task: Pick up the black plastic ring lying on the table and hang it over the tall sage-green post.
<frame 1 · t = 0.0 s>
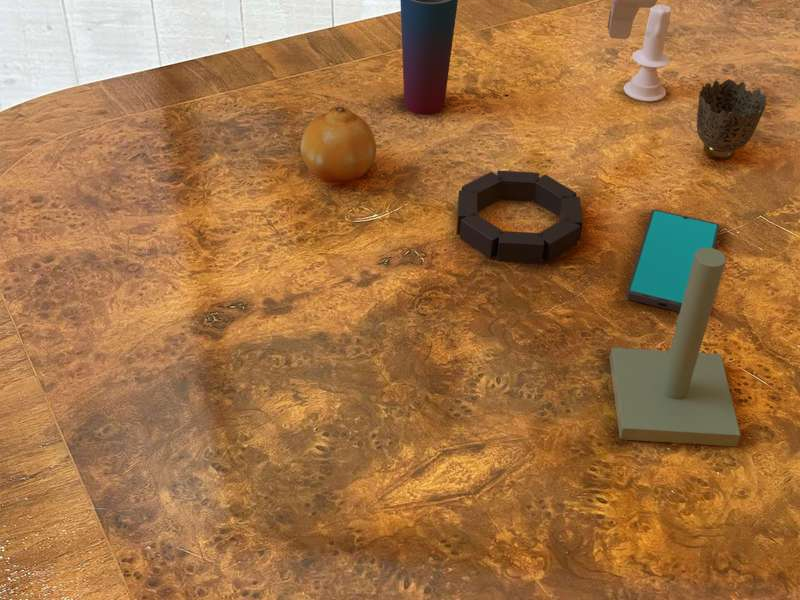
hand: (612, 9, 93), 27 cm above the table, tool pointing down, fingers open, 8 cm apart
ring: (517, 224, 114), on the table
smartphone: (673, 264, 110), on the table
cup 2: (717, 156, 126), on the table
cup: (424, 105, 133), on the table
fruit: (339, 173, 121), on the table
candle: (644, 92, 137), on the table
post: (670, 401, 95), on the table
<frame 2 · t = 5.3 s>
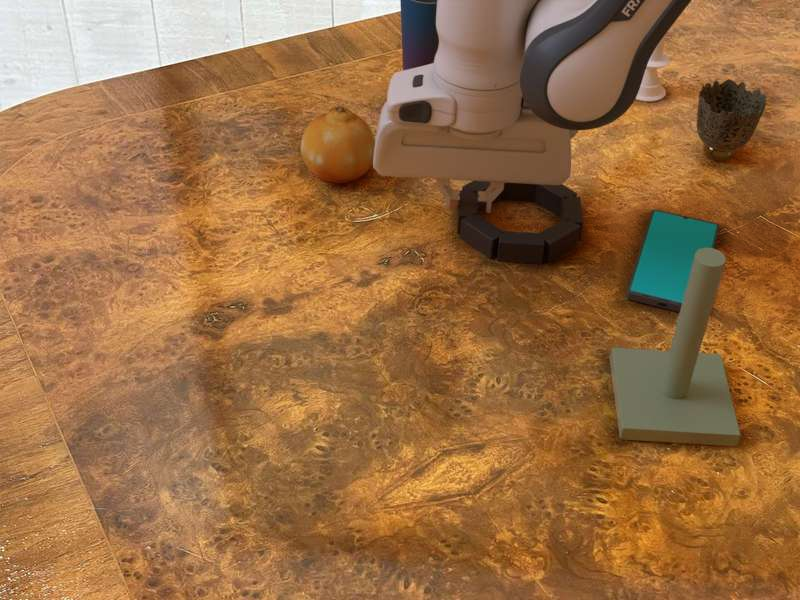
hand: (467, 209, 113), 2 cm above the table, tool pointing down, fingers closed on ring, 2 cm apart
ring: (517, 224, 114), on the table, touching gripper
everything else where it was.
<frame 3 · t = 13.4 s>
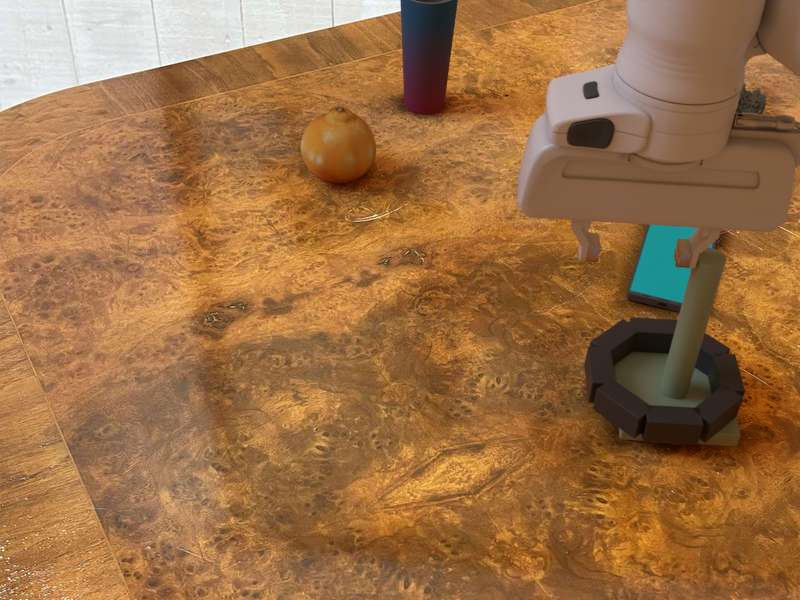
hand: (636, 260, 85), 16 cm above the table, tool pointing down, fingers open, 6 cm apart
ring: (659, 388, 94), point 1 cm above the table, touching post
everything else where it was.
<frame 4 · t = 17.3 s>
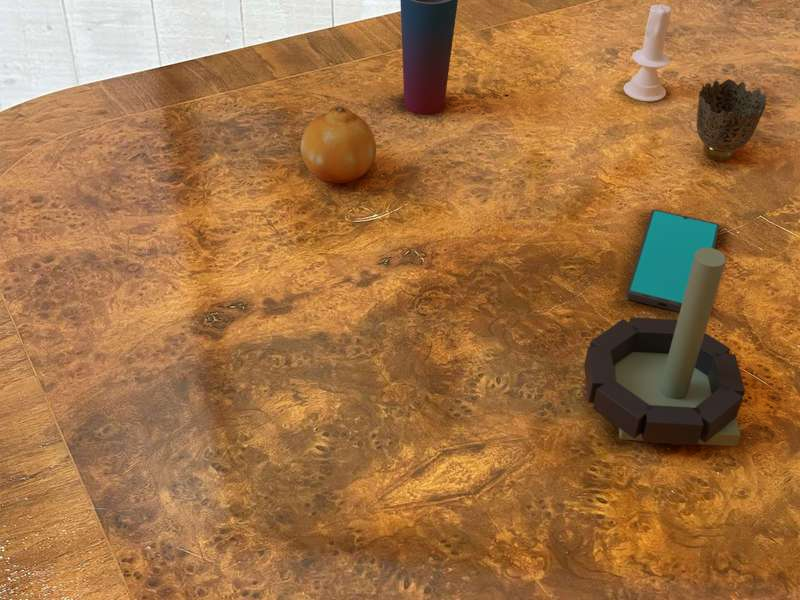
nothing on the table moved.
at the end: ring 1.2 cm from the post (horizontally); the gripper is holding nothing; ring moved 27.6 cm from its start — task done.
